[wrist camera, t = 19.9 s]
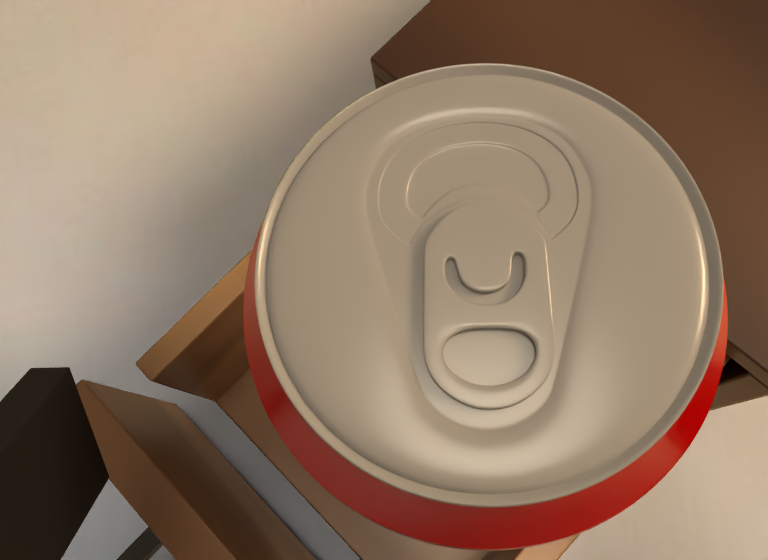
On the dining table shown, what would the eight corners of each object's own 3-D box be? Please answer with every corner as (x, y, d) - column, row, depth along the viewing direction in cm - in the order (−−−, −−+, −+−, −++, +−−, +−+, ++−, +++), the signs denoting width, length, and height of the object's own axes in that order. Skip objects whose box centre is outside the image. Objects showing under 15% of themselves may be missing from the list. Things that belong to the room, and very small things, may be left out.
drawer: (312, 821, 21) (250, 974, 15) (67, 511, 25) (-70, 523, 18) (700, 372, 24) (792, 332, 17) (429, 151, 27) (422, 50, 21)
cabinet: (677, 420, 24) (791, 390, 16) (393, 179, 28) (368, 58, 20) (936, 117, 27) (1151, -43, 18) (641, -67, 31) (710, -266, 22)
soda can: (352, 510, 23) (181, 567, 8) (353, 290, 25) (221, 37, 11) (586, 510, 22) (839, 570, 8) (566, 283, 24) (732, 2, 10)
